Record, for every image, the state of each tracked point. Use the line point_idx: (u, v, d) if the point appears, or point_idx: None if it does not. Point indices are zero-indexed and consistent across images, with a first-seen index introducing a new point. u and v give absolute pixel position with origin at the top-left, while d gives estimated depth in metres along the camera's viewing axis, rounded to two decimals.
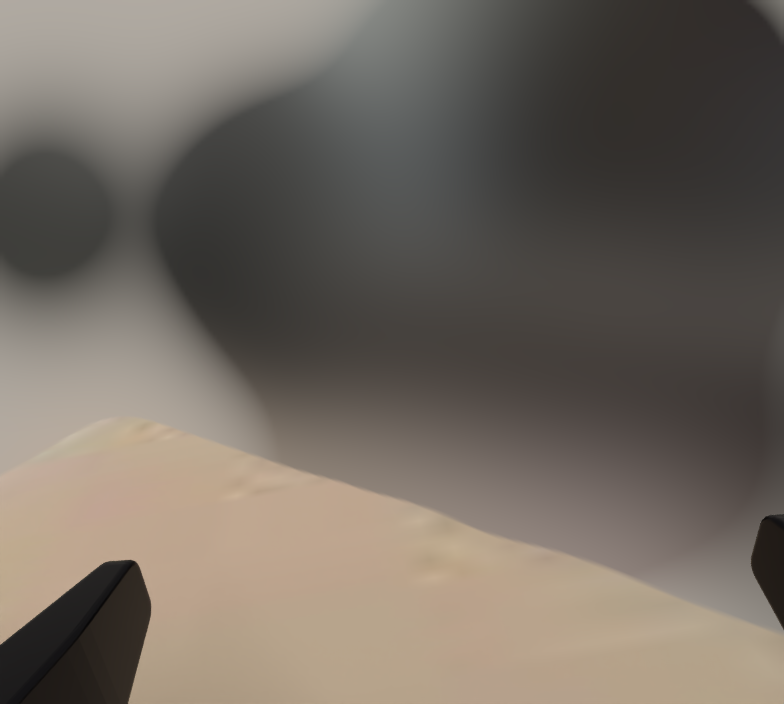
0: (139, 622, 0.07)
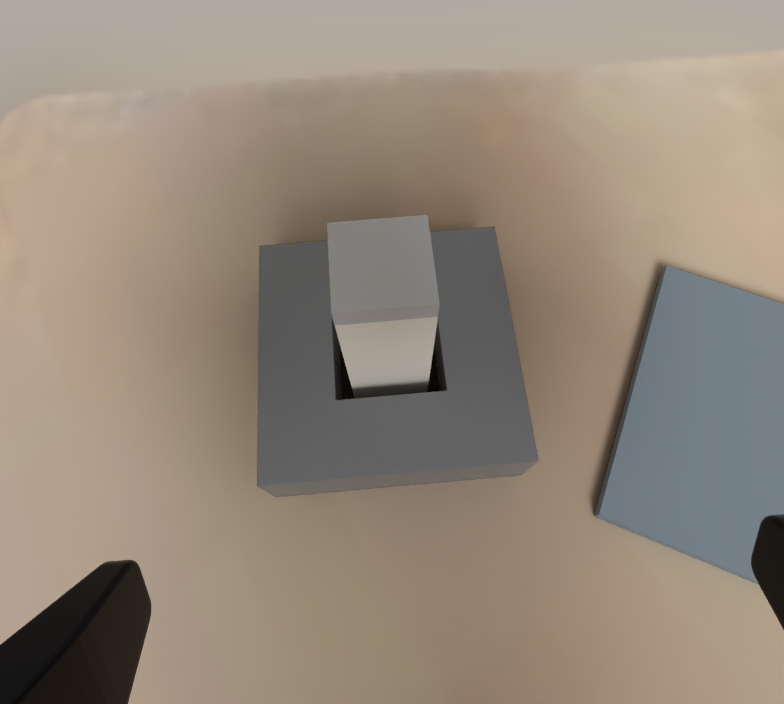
0: (139, 622, 0.07)
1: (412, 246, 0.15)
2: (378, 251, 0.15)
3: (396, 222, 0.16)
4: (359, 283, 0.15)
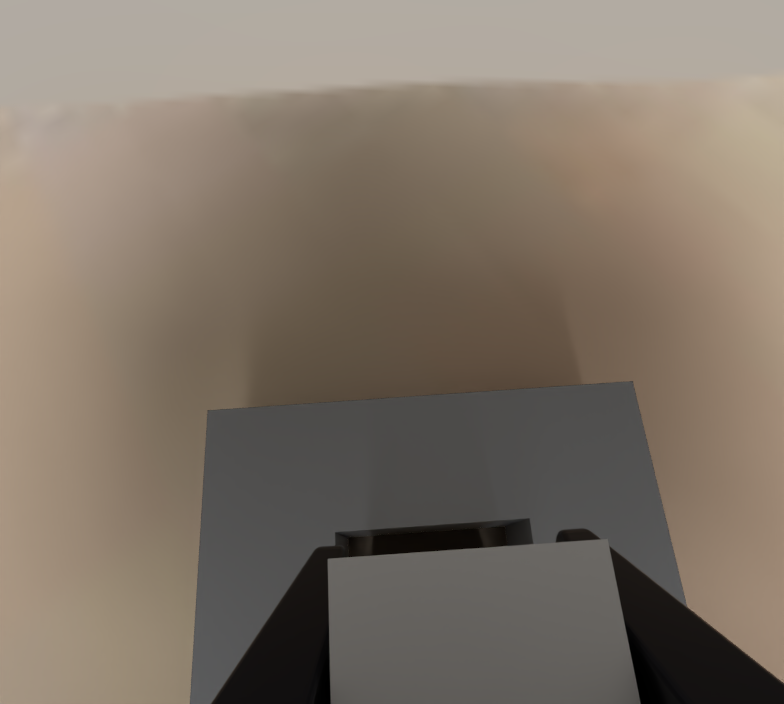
0: None
1: (574, 656, 0.05)
2: (474, 673, 0.05)
3: (521, 567, 0.06)
4: None
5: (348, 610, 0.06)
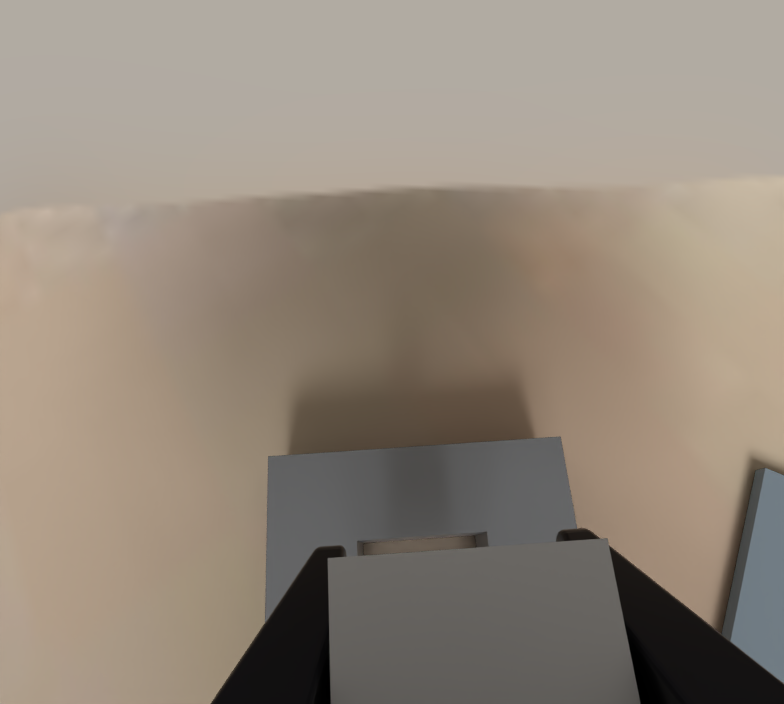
0: None
1: (574, 655, 0.05)
2: (474, 672, 0.05)
3: (521, 566, 0.06)
4: None
5: (348, 609, 0.06)
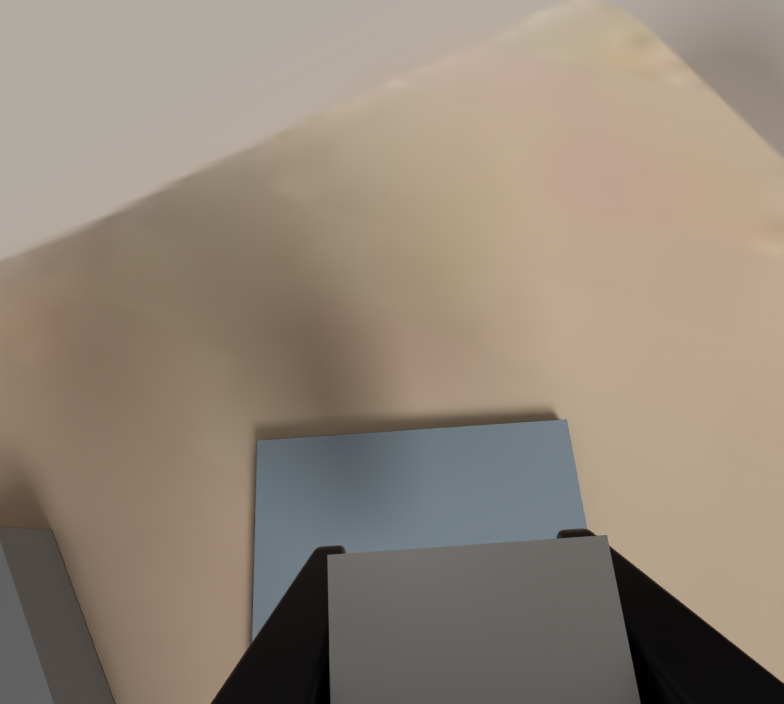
0: None
1: (573, 652, 0.05)
2: (474, 668, 0.05)
3: (521, 563, 0.06)
4: None
5: (348, 606, 0.06)
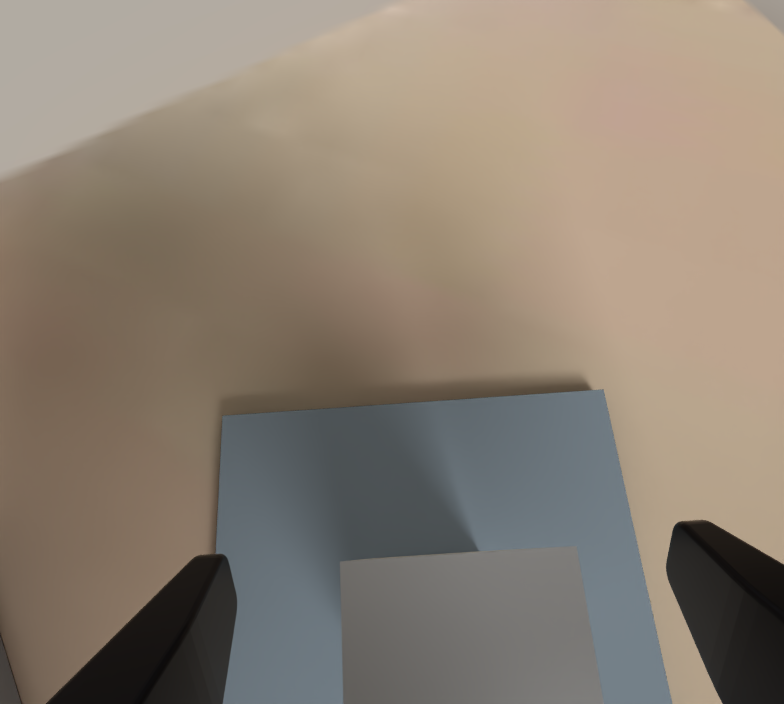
0: (230, 615, 0.07)
1: (546, 644, 0.06)
2: (463, 658, 0.06)
3: (503, 568, 0.07)
4: None
5: (357, 605, 0.07)
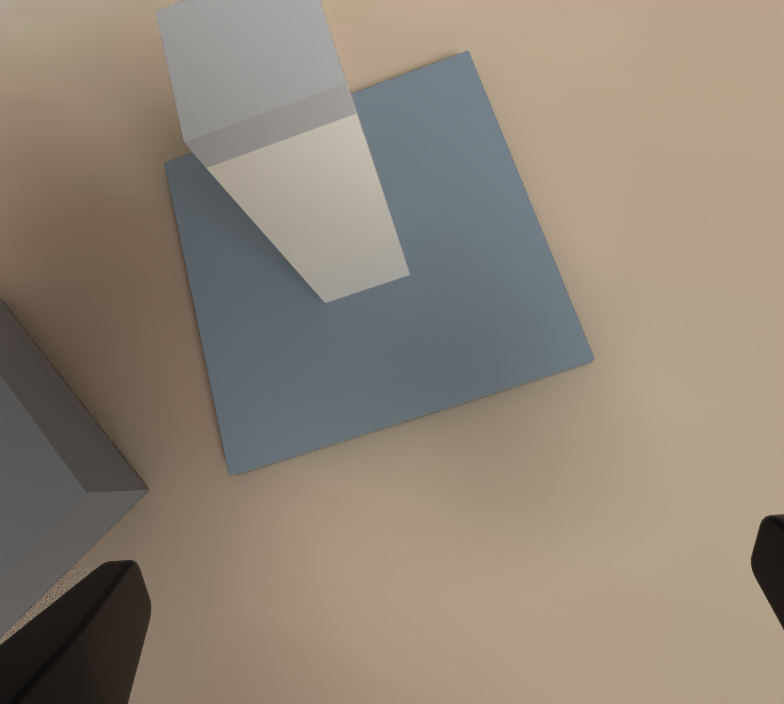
0: (139, 622, 0.07)
1: (289, 8, 0.10)
2: (238, 31, 0.10)
3: None
4: (218, 86, 0.09)
5: (170, 28, 0.10)
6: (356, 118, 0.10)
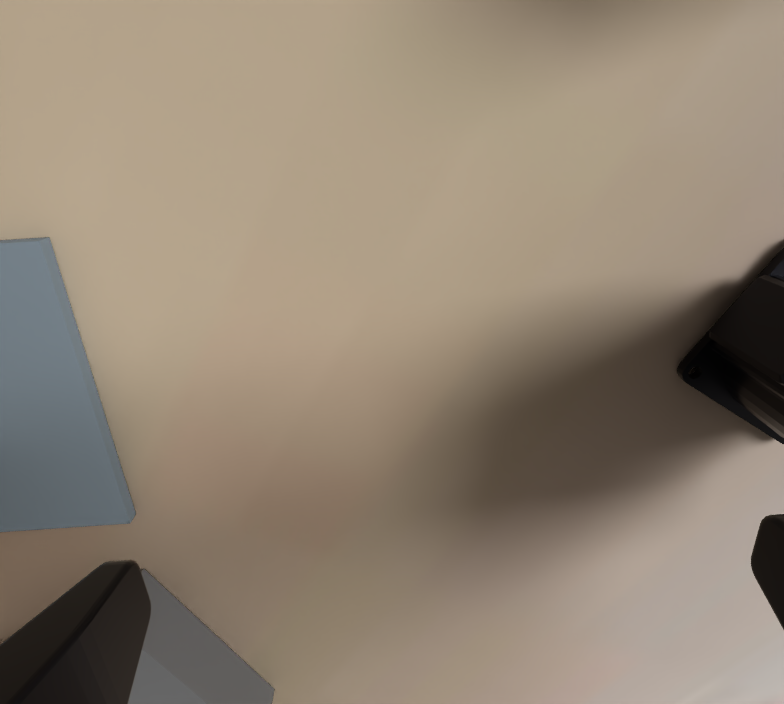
0: (139, 622, 0.07)
1: None
2: None
3: None
4: None
5: None
6: None
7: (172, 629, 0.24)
